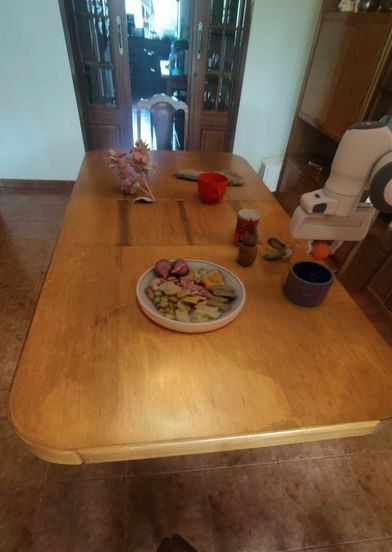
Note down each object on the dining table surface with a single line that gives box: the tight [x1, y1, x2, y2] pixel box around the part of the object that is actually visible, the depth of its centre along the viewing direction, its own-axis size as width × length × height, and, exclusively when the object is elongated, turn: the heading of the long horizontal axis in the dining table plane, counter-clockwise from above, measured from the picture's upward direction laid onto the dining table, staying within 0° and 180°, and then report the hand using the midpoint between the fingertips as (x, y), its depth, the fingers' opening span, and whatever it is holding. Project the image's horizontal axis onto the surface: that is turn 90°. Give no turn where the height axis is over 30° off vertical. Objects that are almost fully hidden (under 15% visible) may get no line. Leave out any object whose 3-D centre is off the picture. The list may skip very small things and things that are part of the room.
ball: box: [310, 240, 330, 261], centre depth 86 cm, size 5×5×5 cm
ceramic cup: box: [197, 171, 228, 206], centre depth 136 cm, size 13×17×10 cm
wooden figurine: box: [238, 218, 259, 268], centre depth 102 cm, size 7×6×15 cm
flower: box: [102, 138, 159, 204], centre depth 132 cm, size 20×22×25 cm
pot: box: [282, 259, 335, 309], centre depth 94 cm, size 13×13×8 cm
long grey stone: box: [175, 168, 246, 187], centre depth 158 cm, size 35×5×10 cm
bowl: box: [135, 258, 247, 334], centre depth 88 cm, size 30×30×8 cm
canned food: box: [233, 208, 261, 248], centre depth 113 cm, size 8×8×11 cm
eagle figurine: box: [262, 237, 295, 261], centre depth 109 cm, size 8×7×9 cm
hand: (318, 253), depth 87 cm, fingers closed on ball, 5 cm apart
